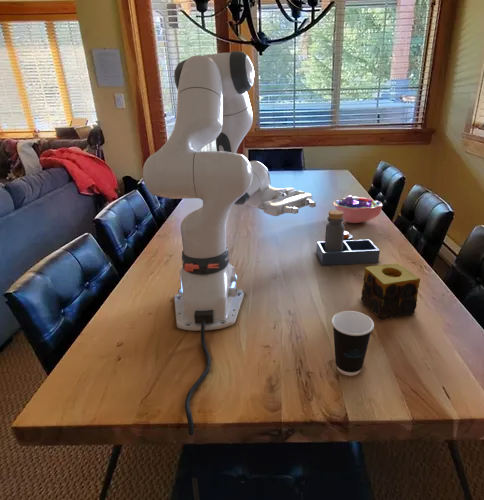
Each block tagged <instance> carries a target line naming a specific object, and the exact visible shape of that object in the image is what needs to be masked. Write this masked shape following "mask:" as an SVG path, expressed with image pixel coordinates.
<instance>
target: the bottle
mask: <svg viewBox="0 0 484 500" xmlns="http://www.w3.org/2000/svg"><path fill="white" fill-rule="evenodd" d="M343 222H345V221H344V218H343V212H342V211H339V210H336V209H332V210H329V211H328V216H327V223H326V224H325V238H324V241H325V252H336V251H343V240H344V231H345V224H343Z"/></svg>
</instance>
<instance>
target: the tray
mask: <svg viewBox="0 0 484 500" xmlns="http://www.w3.org/2000/svg"><path fill="white" fill-rule="evenodd" d="M380 252H381V250H380V249H379V248H378V246H376V244H375V243H374V242H373V241H372V240H371V239H370V238H369V239H368V238H366V239H353V240H345V241H343V251H336V252H325V240H324V241H316V255H317V258H318V259H319V261H320V263H321V265H322V266H333V265H334V266H336V265H355V264H375V263H379V262H380V261H379V260H380Z"/></svg>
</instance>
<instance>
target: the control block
mask: <svg viewBox="0 0 484 500" xmlns="http://www.w3.org/2000/svg"><path fill="white" fill-rule="evenodd" d="M345 240H354V236H353V235H352V234H351V233H349V237H348V238H344V240H343V241H345Z"/></svg>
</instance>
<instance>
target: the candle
mask: <svg viewBox="0 0 484 500" xmlns="http://www.w3.org/2000/svg"><path fill="white" fill-rule="evenodd" d="M420 283H421V278H420V277H419V276H417V275H416V274H415V273H414V272H413V271H410V270H409V269H407V268H406V267H405V266H403V265H402V264H400V263H399V262H391V263H385V264H379V265H372V266H365V267H364V275H363V285H362V289H361V297H360V301H361V302H362V303H363V304H364V305H365V306H366V307H367V309H368V310H369V311H371V312H372V313H373V314H375V316H376V318H377V319H378V320H380V321H382V320H387V319H393V318H399V317H403V316H409V315H413V314H415V313H416V308H417V303H418V293H419V287H420Z"/></svg>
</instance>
